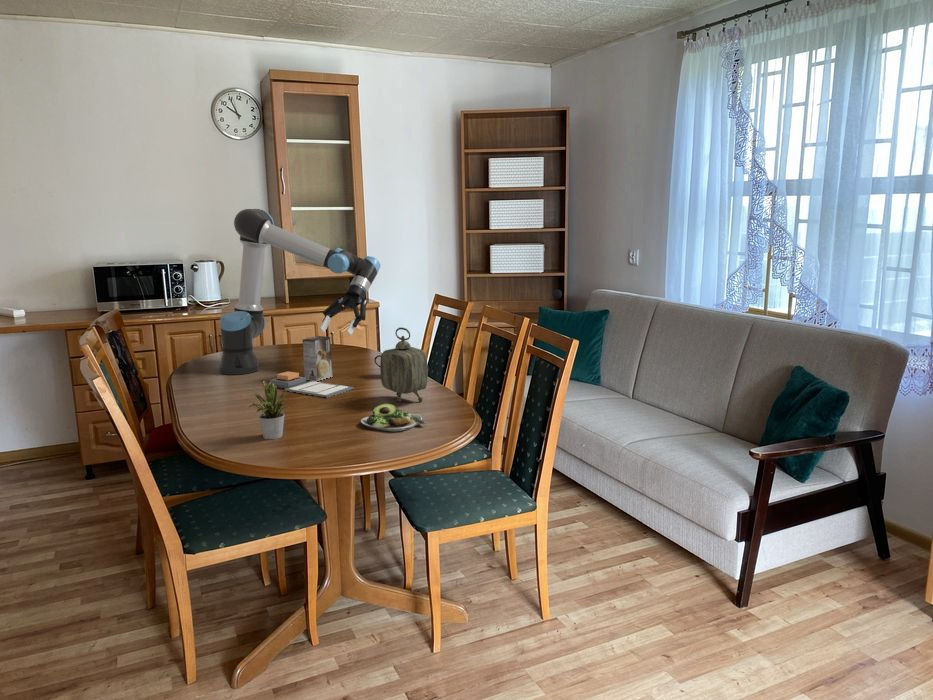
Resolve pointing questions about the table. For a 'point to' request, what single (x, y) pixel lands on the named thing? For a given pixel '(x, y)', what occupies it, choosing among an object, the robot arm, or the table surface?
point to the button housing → (288, 382)
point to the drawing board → (319, 389)
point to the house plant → (270, 412)
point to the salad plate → (391, 419)
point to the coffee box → (317, 358)
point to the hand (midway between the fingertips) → (335, 331)
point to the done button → (287, 375)
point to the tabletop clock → (404, 368)
